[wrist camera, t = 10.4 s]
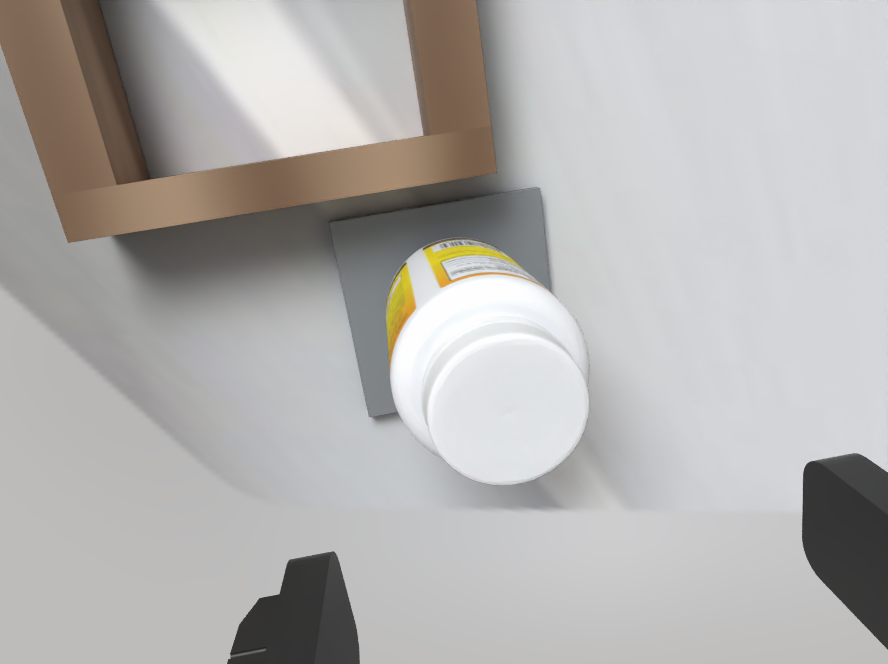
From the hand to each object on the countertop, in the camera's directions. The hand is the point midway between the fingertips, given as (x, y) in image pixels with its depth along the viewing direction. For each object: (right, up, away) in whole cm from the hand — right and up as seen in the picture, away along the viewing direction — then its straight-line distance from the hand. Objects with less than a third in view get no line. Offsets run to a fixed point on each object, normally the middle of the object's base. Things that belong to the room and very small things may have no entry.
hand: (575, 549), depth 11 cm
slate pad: (-2, +5, +14) cm, 15 cm away
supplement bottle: (-2, +5, +14) cm, 15 cm away
